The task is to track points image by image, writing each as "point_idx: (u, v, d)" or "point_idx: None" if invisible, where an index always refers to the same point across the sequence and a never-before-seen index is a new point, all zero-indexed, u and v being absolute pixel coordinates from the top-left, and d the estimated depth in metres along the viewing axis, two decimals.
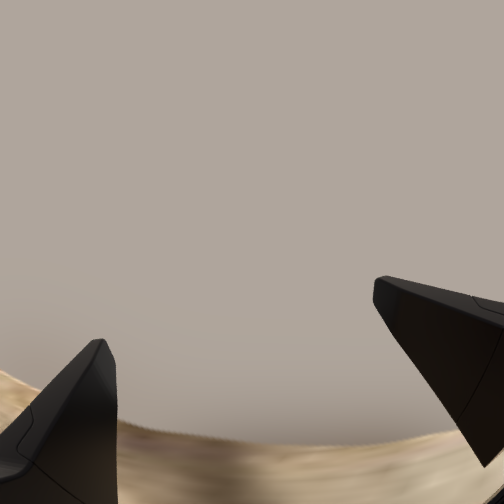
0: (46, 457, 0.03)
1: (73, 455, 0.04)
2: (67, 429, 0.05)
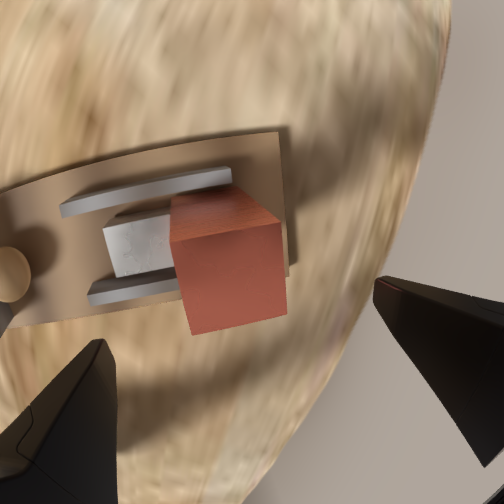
0: (46, 457, 0.03)
1: (73, 455, 0.04)
2: (67, 429, 0.05)
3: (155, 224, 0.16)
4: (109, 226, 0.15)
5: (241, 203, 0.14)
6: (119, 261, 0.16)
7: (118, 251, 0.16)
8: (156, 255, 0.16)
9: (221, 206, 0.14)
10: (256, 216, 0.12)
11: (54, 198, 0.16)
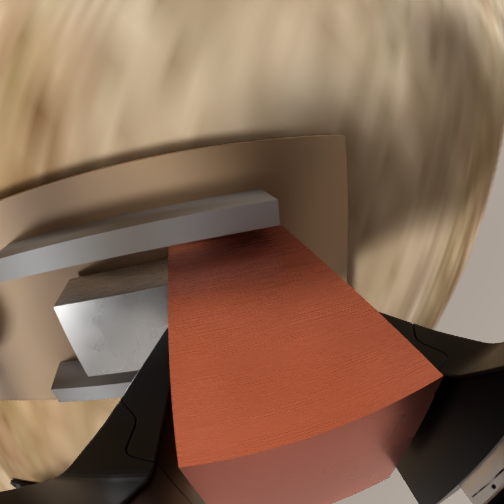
0: (164, 455, 0.04)
1: None
2: (173, 421, 0.05)
3: (142, 302, 0.09)
4: (64, 302, 0.08)
5: (315, 285, 0.07)
6: (88, 355, 0.09)
7: (84, 342, 0.09)
8: (149, 349, 0.09)
9: (275, 292, 0.07)
10: (376, 347, 0.05)
11: None
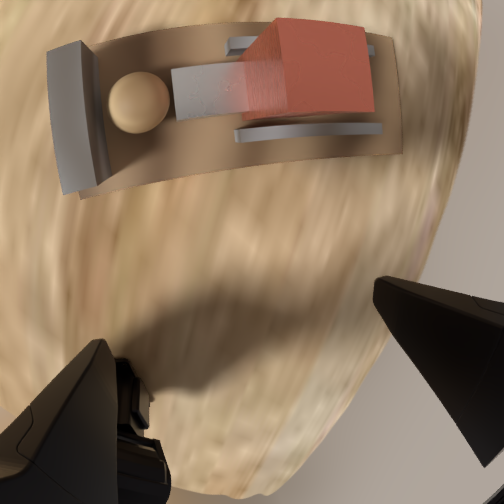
0: (46, 457, 0.03)
1: (73, 455, 0.04)
2: (67, 429, 0.05)
3: (226, 69, 0.14)
4: (178, 69, 0.14)
5: None
6: (183, 102, 0.15)
7: (184, 92, 0.14)
8: (224, 98, 0.15)
9: None
10: None
11: (208, 43, 0.15)
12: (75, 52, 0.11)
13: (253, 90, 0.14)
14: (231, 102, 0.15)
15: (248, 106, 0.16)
